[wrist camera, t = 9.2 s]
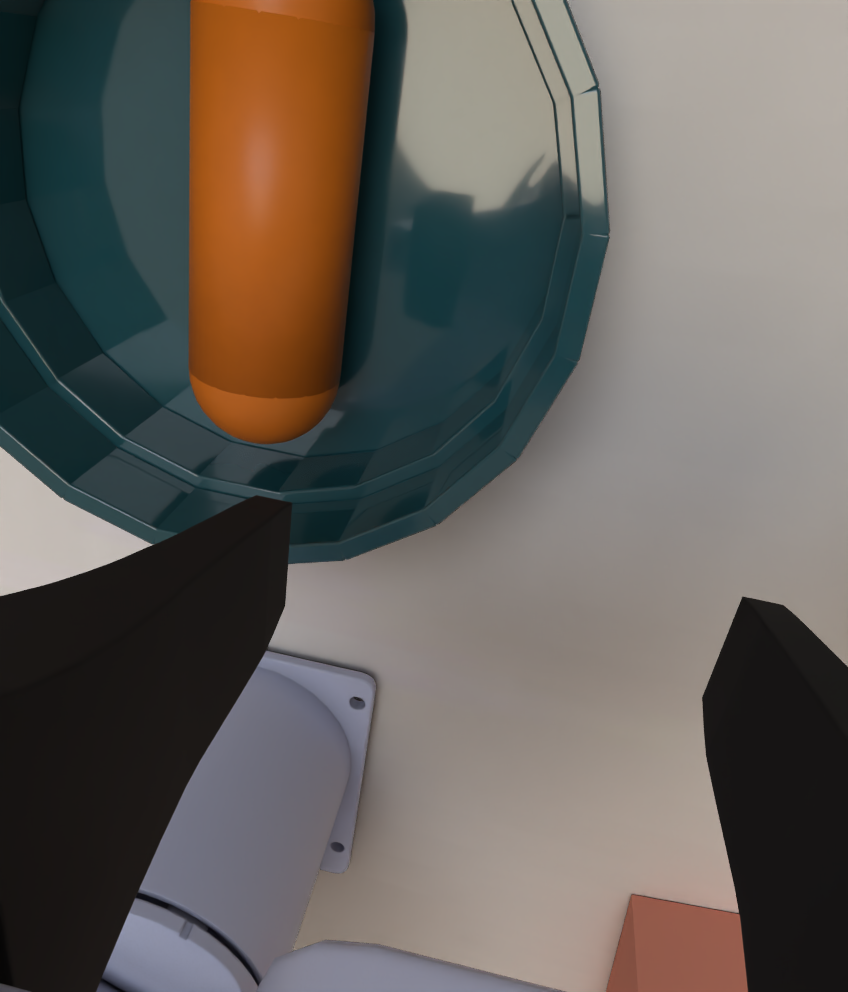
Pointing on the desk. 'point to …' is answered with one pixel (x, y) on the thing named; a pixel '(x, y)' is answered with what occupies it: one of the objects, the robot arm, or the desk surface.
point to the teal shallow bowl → (373, 282)
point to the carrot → (273, 206)
